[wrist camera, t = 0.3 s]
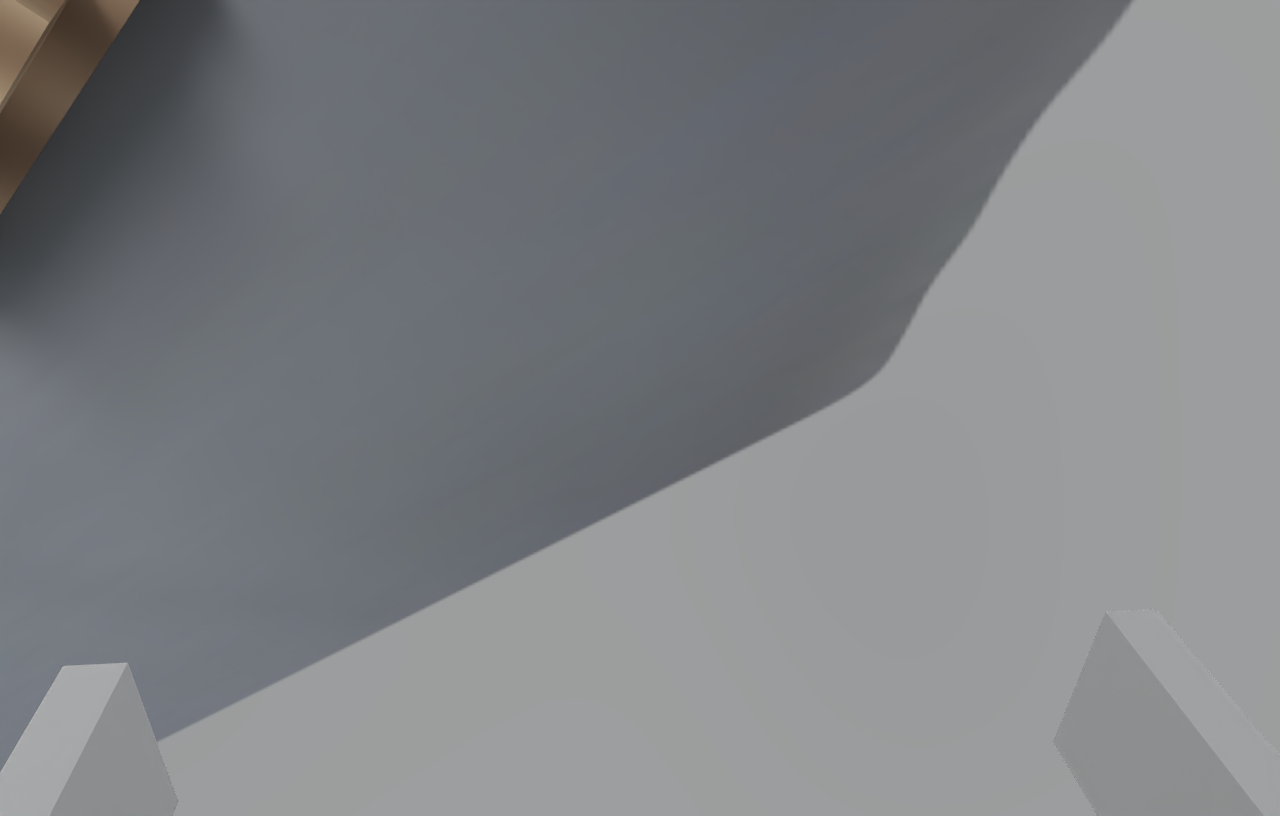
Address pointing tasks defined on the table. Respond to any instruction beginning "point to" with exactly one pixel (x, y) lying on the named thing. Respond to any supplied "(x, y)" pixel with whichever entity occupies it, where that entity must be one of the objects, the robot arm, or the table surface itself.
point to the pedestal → (46, 71)
